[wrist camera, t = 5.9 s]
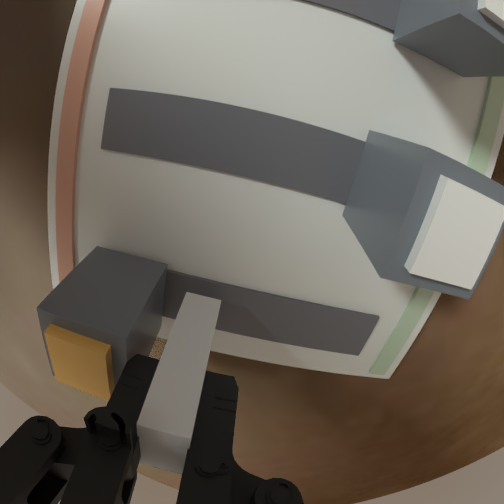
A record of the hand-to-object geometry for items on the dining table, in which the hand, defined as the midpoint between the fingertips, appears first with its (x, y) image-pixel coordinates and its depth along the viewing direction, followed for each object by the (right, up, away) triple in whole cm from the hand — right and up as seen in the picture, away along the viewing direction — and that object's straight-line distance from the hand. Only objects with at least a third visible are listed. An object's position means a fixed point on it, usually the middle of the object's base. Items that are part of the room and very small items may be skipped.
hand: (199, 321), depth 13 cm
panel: (+3, +7, 0) cm, 8 cm away
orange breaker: (-3, +1, +1) cm, 4 cm away
